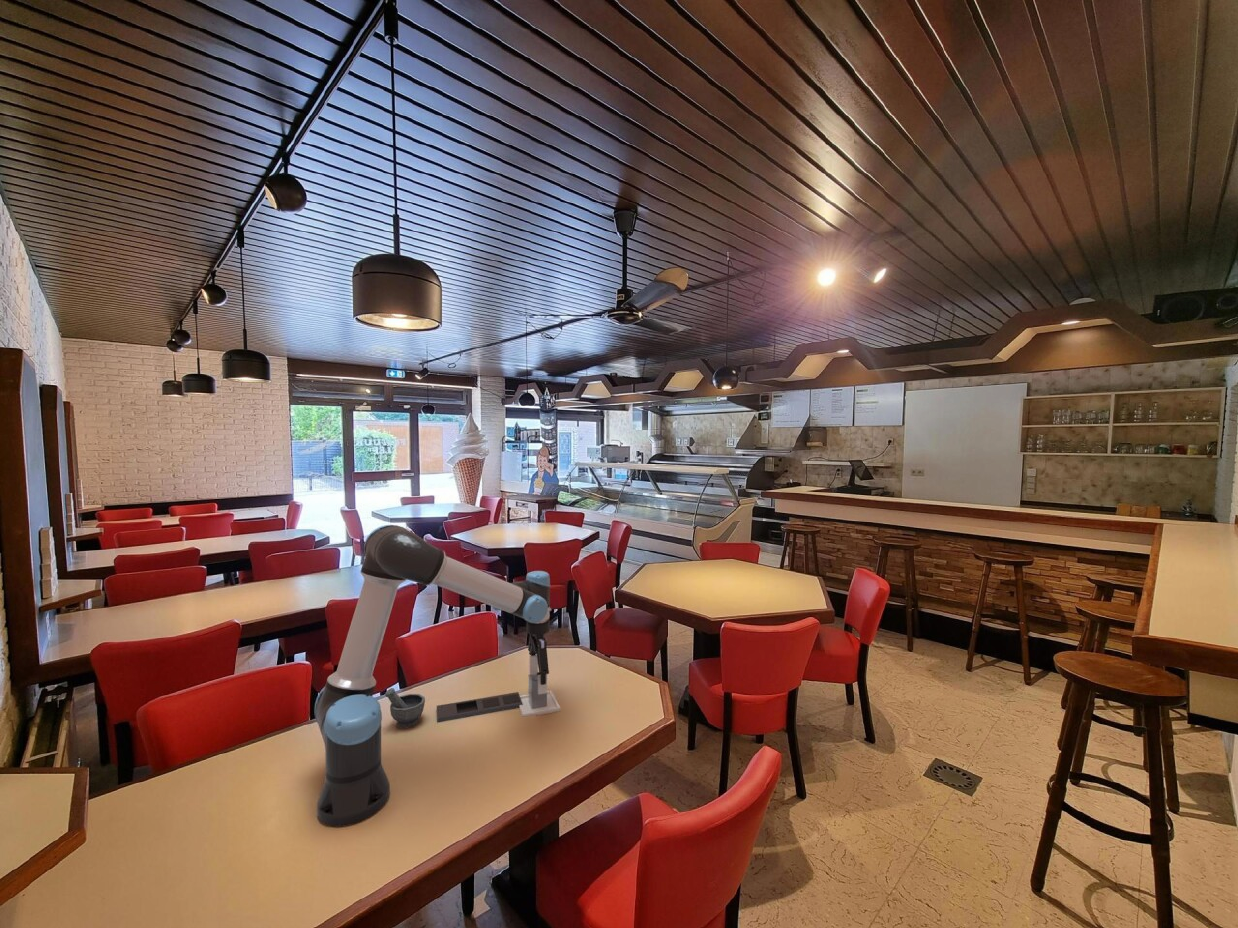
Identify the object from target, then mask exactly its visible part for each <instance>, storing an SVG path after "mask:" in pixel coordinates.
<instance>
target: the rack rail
mask: <svg viewBox="0 0 1238 928" xmlns="http://www.w3.org/2000/svg"><path fill="white" fill-rule="evenodd" d="M520 696H521V695H520V694H519V691H516V692H509V693H503V694H498V695H491V696H486V697H480V698H474V699H468V700H464V701H463V700H462V701H457V702H456V701H455V702H452V703H451V702H450V703H445V704H439V705H436V723H443V722H447V721H453V720H458V719H465V718H470V717H476V716H481V715H486V714H493V713H497V712H504V711H508V710H514V709H520V708H519V705H522V706H523V703H522V701H521V698H520Z"/></svg>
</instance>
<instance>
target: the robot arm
mask: <svg viewBox="0 0 1238 928" xmlns="http://www.w3.org/2000/svg"><path fill="white" fill-rule="evenodd" d="M363 550H364V551H363V552H364V559H363V563H362V565H361V569H360V574H361V576H362V577H363V579H364V580H363V583H362V587H361V590H360V593H359V596H358V600H357V603H356V607H355V610H354V613H353V616H352V620H351V623H350V626H349V629H348V631H347V636H346V639H345V642H344V646H343V649H342V652H341V655H340V658H339V659H340V660H339V661H338V666H337V669H336V671H334V672H333V673H332V674H330V675H329V676H328V677H327V679H326V683H325V685H324V687H323V688H322V689H321V690H320V692H319V693H318V695H317V697H316V700H315V703H314V718H315V721H316V723H317V725H318V727H319V731H320V734H321V737H322V740H323V743H324V747H325V748H324V750H325V752H324V753H325V754H324V755H325V779H324V782H323V784H322V785H323V786H322V787H321V790H320V791H321V792H320V794H319V797H318V799H317V803H316V812H317V813H316V816H317V820H319V822H320V823H321V824H323V825H326V826H327V827H328V826H329V827H346V826H351V825H355V824H358V823H361V822H363V821H364V820H367V819H369V818H371V817H372V816H374V815H375V814H377V813H378V812H379V811H380V810H382V809H383V808H384V806H385V805H386V803H387V802H388V800H389V798H390V792H391V791H390V789H391V788H390V781H389V778H388V776H387V774H386V771H385V769H384V766H383V763H382V720H383V714H382V709H381V708H382V707H381V704H380V701H379V700H378V699H376V698H375V697H374V696H373V695H374V691H375V688H376V685H377V680H376V679H375V677H374V675H373V674H374V669H375V666H376V665H377V664H376V663H377V660H378V657H379V653H380V650H381V646H382V644H383V640H384V635H385V633H386V629H387V627H388V623H389V619H390V615H391V612H392V609H393V606H394V602H395V598H396V595H397V593H398V590H399V589H398V588H399V586H400V585H401V584H403V583H404V582H406V581H411V582H414V583H417V584H420V585H423V586H426V587H428V586H430V585H432V584H433V585H434V586H435V585H436V586H437V587H440V588H443V589H446V590H448V591H451V592H454V593H456V594H459V595H461V596H464V597H467V598H470V599H472V600H474V601H478V602H480V603H483V604H485V605H488V606H491V607H492V609H493V610H494V611H497V612H498V611H504V612H507V613H509V614H511V615H514V616H517V617H519V618H521V619H524V621H526V628H525V629H526V633H527V634H529V640H528V647H527V651H528V653H529V654H528V655H529V673H528V676H529V675H531V674H537V675H538V695H539V694H545V693H547V691H548V675H549V674H550V670H549V661H548V660H549V659H548V650H547V640H546V637H544V635H545V634H548V633H549V632H550V630H551V627H550V626H551V625H550V624H551V621H550V616H551V615H550V612H551V611H552V607H550V606H551V594H550V593H551V579H550V574H549V573H548V572H547V571H543V570H534V571H533V570H532V571H531V572H528V573H527V574H526V579H525V580H520V581H516V582H515V581H514V582H508V581H505V580H504V579H501V578H499V577H496V576H494V575H493V574H489V573H486V572H484V571H482V570H480V569H478V568H475V567H473V566H470V565H468V564H466V563H463V562H461V561H458V560H456V559H453V558H452V557H449V556H447V555H446V552H445V550H442V549H440V548H438V547H436V546H435V545H432V544H431V543H429V542H428V541H426V540H425V539H423V538H421V537H420V536H419V535H418V534H416V532H415V533H414V532H412V531H410V530H408V529H406V527H403V526H400V525H397V524H384V525H380V526H378V527H377V528H375V529H373V530H372V531H371V532H370V533H369V534H368V535H367V537H366V539H365V542H364V544H363Z"/></svg>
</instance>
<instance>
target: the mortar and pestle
mask: <svg viewBox="0 0 1238 928" xmlns="http://www.w3.org/2000/svg"><path fill="white" fill-rule="evenodd" d="M384 696H385V697H387V699H388V700H389V701H390V705H389V711H390V717H392V719H393V720H394V721H396V722H397V723H396V728H400V729H408V728H411V727H414V726H415V725H417V724H418V723H419V719H420V717H421V716H422V715H423V711H424V707H425V702H426V697H425V695H424V696H423V695H422V694H421V693H408V694H403V695H399V694H398V693H397V692H396V690H395V688H393V687H391V688H389V689H388V690H386V692H385V693H384Z"/></svg>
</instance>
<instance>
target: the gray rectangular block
mask: <svg viewBox="0 0 1238 928" xmlns="http://www.w3.org/2000/svg"><path fill="white" fill-rule="evenodd" d="M528 694H529V704H530V706H531V709H535V708H541V707H546V706H547V693H545V694H539V695H538V675H537V674H531V675H529V674H528Z"/></svg>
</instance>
